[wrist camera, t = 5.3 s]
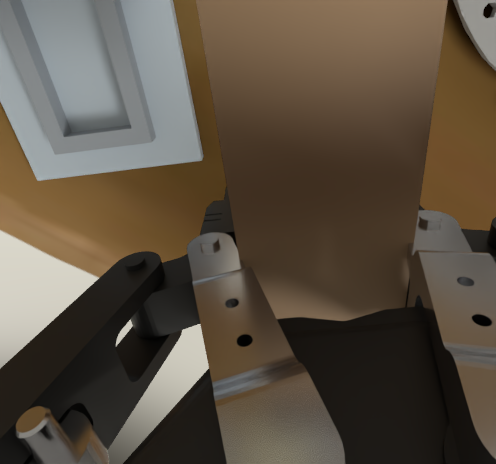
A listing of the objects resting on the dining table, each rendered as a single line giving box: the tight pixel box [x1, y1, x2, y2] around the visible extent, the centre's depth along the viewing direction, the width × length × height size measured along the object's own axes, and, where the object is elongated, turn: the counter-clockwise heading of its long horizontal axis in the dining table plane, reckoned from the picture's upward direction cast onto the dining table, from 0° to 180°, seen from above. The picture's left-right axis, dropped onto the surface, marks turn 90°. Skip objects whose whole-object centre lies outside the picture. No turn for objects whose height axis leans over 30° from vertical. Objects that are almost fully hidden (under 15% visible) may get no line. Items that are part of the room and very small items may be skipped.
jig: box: [0, 0, 203, 181], centre depth 21 cm, size 19×14×7 cm
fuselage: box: [196, 0, 448, 321], centre depth 9 cm, size 12×4×6 cm, turn 7°
